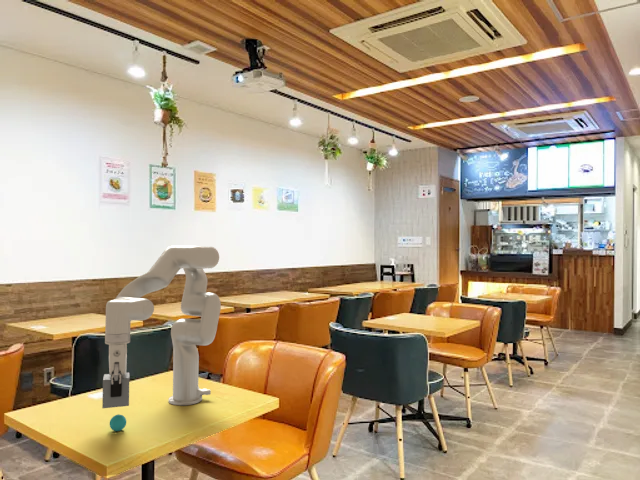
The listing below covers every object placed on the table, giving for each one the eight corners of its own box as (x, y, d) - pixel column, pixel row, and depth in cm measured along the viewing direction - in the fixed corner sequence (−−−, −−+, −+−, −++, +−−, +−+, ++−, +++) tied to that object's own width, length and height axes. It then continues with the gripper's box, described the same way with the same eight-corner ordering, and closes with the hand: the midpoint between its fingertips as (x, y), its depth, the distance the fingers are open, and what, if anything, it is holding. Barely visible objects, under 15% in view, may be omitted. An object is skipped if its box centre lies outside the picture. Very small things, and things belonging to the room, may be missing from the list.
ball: (105, 419, 159) (114, 431, 160) (106, 424, 155) (115, 436, 156) (120, 409, 161) (128, 421, 162) (121, 413, 157) (130, 425, 158)
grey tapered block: (129, 399, 163) (129, 372, 164) (128, 405, 156) (129, 377, 156) (103, 401, 161) (104, 374, 161) (102, 408, 154) (102, 380, 154)
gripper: (129, 342, 152) (128, 399, 152) (130, 333, 169) (129, 385, 168) (103, 343, 150) (102, 401, 149) (106, 334, 166) (105, 387, 165)
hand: (116, 392), depth 159 cm, fingers closed on grey tapered block, 7 cm apart
